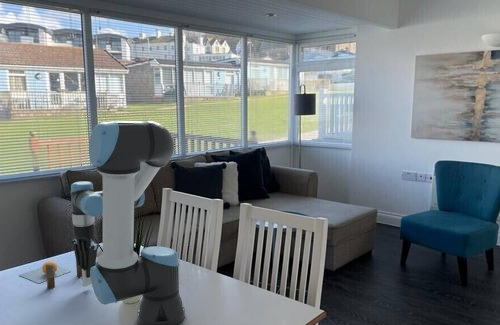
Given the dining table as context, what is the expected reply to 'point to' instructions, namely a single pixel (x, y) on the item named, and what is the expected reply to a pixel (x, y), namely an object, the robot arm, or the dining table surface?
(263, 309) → the dining table surface
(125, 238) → the robot arm
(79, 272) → the right post
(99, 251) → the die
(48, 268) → the left post
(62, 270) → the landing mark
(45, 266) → the ball
